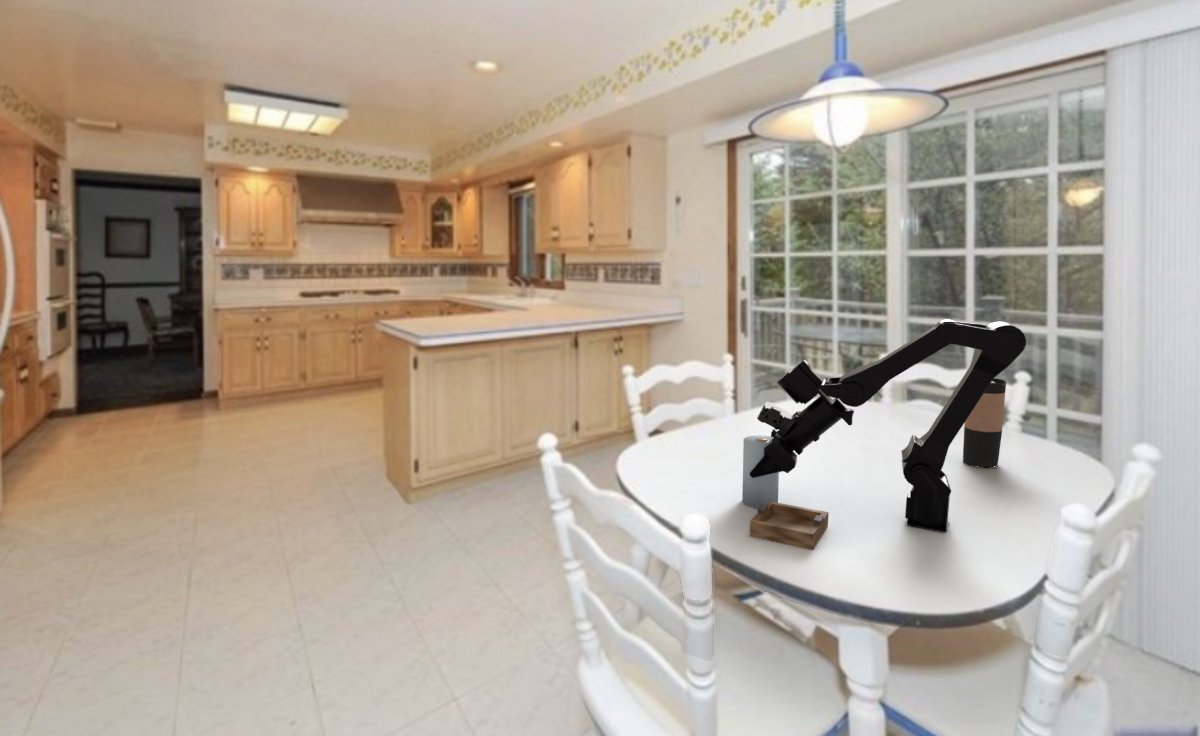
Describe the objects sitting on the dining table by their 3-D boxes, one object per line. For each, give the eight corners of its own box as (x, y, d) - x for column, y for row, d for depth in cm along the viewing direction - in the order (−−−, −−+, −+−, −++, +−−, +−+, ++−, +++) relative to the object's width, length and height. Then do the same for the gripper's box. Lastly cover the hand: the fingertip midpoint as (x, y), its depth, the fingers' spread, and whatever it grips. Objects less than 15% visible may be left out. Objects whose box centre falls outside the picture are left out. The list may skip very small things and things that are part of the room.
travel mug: (956, 457, 157) (962, 376, 153) (990, 458, 156) (997, 377, 152) (969, 468, 149) (976, 383, 146) (1005, 469, 148) (1013, 383, 145)
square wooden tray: (828, 526, 119) (829, 508, 118) (813, 550, 109) (814, 530, 109) (768, 514, 124) (768, 497, 124) (749, 536, 115) (749, 517, 115)
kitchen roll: (782, 499, 132) (784, 437, 130) (771, 511, 126) (773, 446, 124) (749, 493, 136) (750, 432, 133) (737, 504, 130) (738, 441, 127)
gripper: (788, 381, 134) (734, 428, 140) (778, 400, 117) (716, 453, 123) (827, 421, 132) (770, 467, 138) (822, 446, 115) (757, 497, 121)
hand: (753, 470), depth 130 cm, fingers closed on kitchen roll, 7 cm apart
